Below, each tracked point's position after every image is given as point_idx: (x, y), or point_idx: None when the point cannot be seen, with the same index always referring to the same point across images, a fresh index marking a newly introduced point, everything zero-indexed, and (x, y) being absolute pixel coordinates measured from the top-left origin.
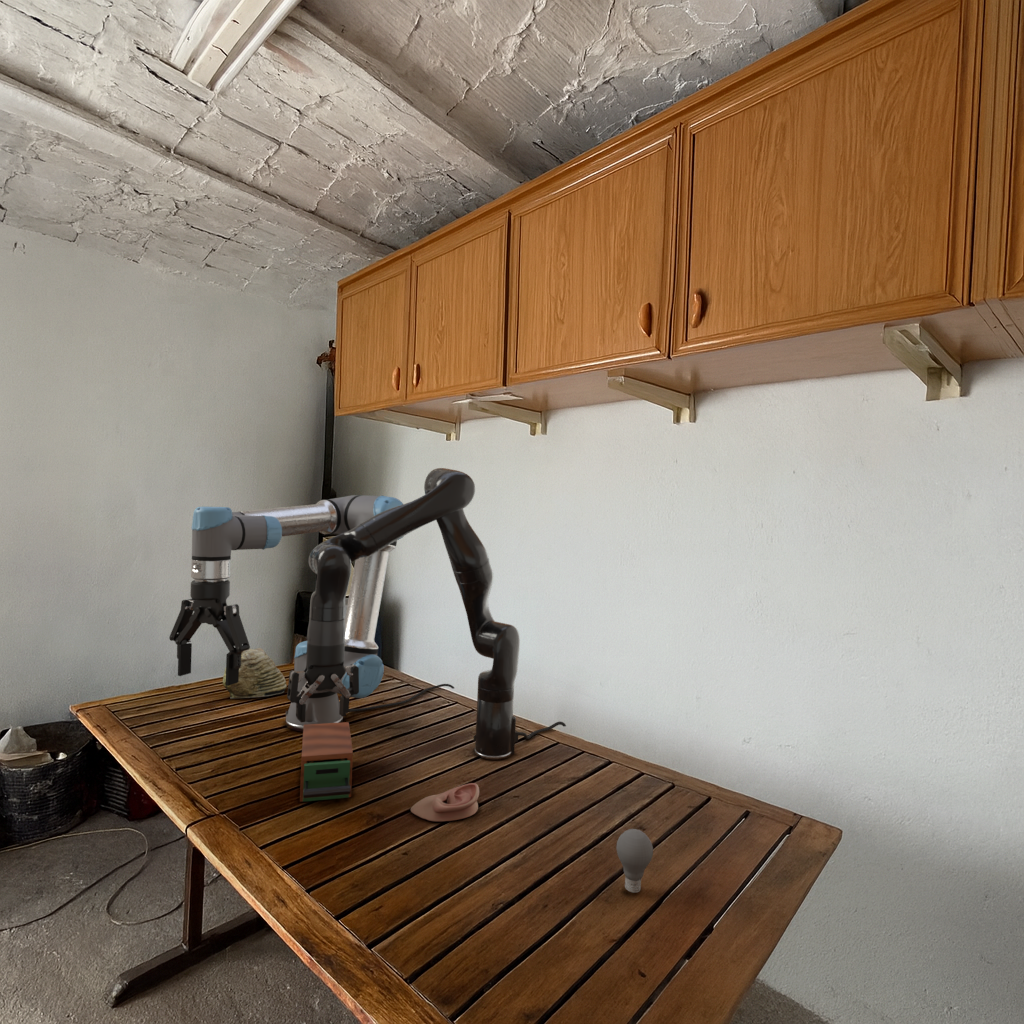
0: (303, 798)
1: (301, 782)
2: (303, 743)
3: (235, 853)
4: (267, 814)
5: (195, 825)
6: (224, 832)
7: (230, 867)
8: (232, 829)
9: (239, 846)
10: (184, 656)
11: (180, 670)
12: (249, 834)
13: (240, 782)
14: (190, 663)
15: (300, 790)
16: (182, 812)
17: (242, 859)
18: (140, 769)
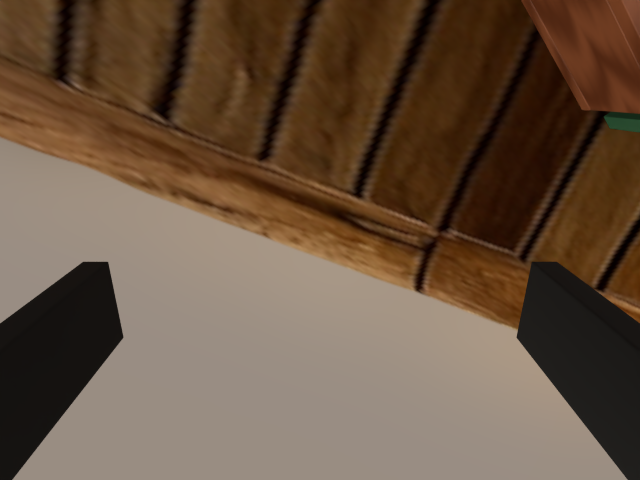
0: (616, 128)
1: (617, 110)
2: (632, 12)
3: None
4: (539, 191)
5: (429, 285)
6: (500, 280)
7: None
8: (507, 266)
9: None
10: (33, 405)
11: (104, 360)
12: None
13: (372, 94)
14: (67, 301)
15: (601, 110)
16: (365, 262)
17: None
18: (87, 159)
